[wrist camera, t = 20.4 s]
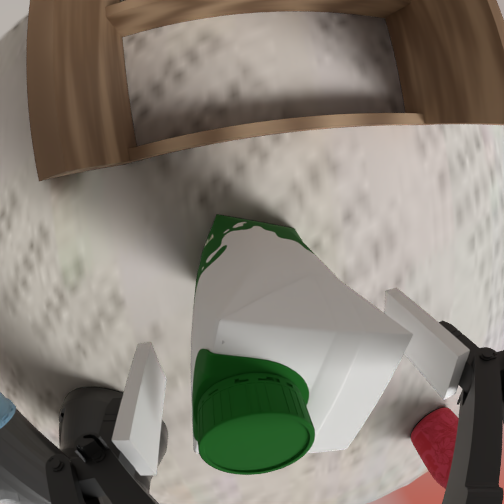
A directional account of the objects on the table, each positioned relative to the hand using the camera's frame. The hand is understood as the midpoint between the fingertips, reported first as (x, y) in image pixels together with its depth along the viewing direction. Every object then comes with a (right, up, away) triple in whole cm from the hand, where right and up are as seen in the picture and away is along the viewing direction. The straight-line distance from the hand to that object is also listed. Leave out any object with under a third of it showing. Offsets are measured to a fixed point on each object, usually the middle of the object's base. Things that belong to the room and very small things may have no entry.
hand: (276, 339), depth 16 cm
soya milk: (-2, +4, +12) cm, 13 cm away
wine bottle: (+32, -28, +27) cm, 51 cm away
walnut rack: (0, +25, +5) cm, 25 cm away
